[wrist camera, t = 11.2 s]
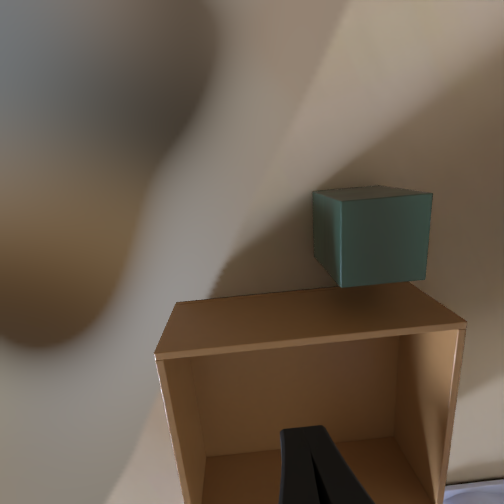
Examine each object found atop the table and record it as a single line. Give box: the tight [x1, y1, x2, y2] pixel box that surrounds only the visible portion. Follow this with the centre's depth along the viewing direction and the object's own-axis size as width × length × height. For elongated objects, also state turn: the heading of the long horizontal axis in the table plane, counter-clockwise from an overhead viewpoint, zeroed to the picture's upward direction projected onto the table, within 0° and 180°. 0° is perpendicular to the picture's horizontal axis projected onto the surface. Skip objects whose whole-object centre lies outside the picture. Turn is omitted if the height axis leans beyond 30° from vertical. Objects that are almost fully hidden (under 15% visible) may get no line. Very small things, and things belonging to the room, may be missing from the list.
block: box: [312, 185, 433, 288], centre depth 16 cm, size 4×4×5 cm
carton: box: [154, 281, 467, 504], centre depth 18 cm, size 15×13×5 cm
